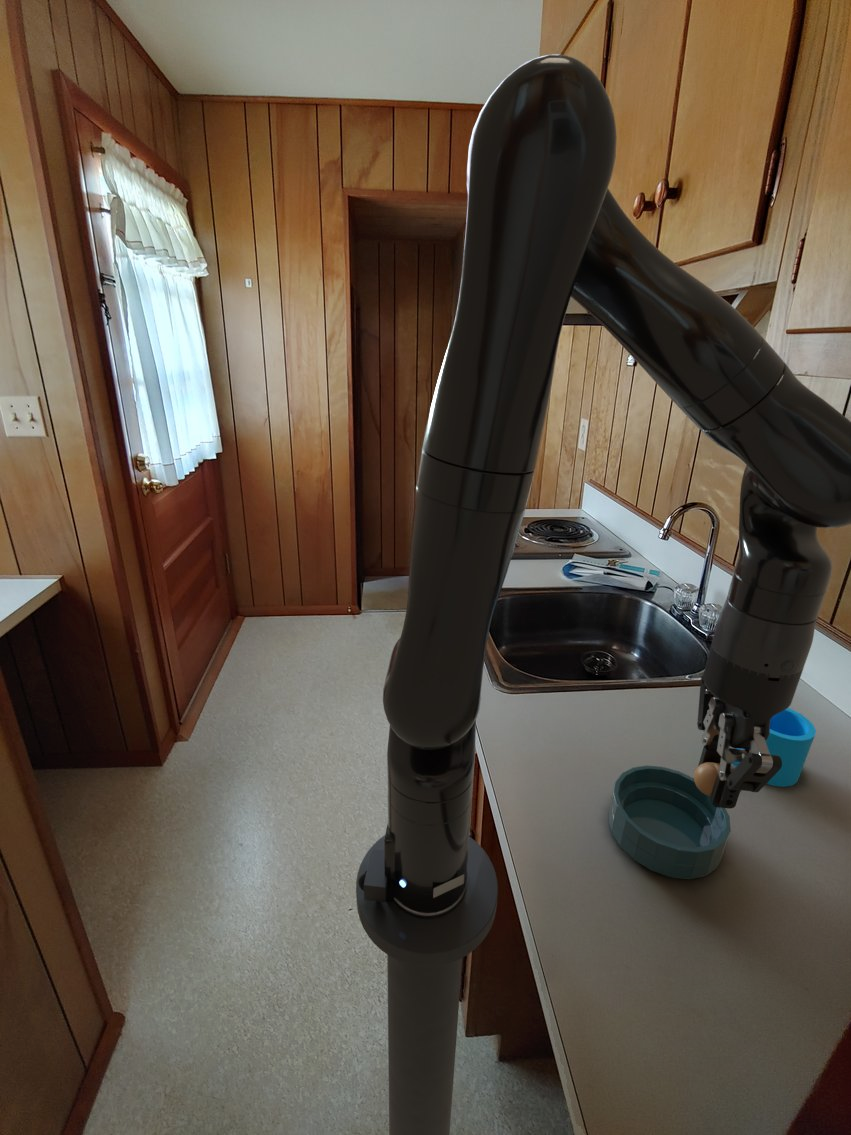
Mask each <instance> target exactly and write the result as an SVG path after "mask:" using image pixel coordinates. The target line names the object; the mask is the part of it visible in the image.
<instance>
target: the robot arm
mask: <svg viewBox="0 0 851 1135" xmlns="http://www.w3.org/2000/svg"><path fill="white" fill-rule="evenodd" d="M617 136H618V135H617V125H616V118H615V113H614V110H613V106H612V102H611V99H610V97H609V95H608V93H607V91H606V88H605V86H604V85H603V82H602V81H601V80H600V78H599V77H598V76H597V74H596V73H595V72H593V70H592V69H591V68H590V67H589V66H588V65H586V64H585V63H583V62H582V61H581V60H579V59H577V58H575V57H572V56H568V55H565V54H546V55H542V56H539V57H536V58H533V59H531V60H528V61H526V62H524V63H523V64H521V65H520V66H519V67H517V68H516V69H515V70H513V71H512V72H510V74H508V75H507V76H506V77H505V78H504V79H503V80H502V81H501V82H500V84H499V85H498V86H497V87H496V88H495V89H494V91H493V92H492V93H491V94H490V96H489V97H488V98H487V101H486V102H485V104H484V105H483V106H482V108H481V110H480V111H479V114H478V117H477V119H476V122H475V124H474V126H473V128H472V132H471V137H470V140H469V145H468V154H467V163H466V164H467V165H466V189H467V209H466V221H465V222H466V224H465V238H464V245H463V246H464V248H463V258H462V268H461V269H462V271H461V279H460V286H459V287H460V288H459V294H458V302H457V307H456V311H455V318H454V322H453V326H452V330H451V333H450V337H449V341H448V344H447V347H446V351H445V354H444V358H443V361H442V365H441V367H440V371H439V374H438V378H437V382H436V385H435V389H434V392H433V397H432V401H431V405H430V409H429V413H428V418H427V422H426V426H425V430H424V435H423V441H422V445H421V446H422V448H421V453H420V459H419V465H418V472H417V477H416V484H415V490H414V501H413V510H412V511H413V513H412V521H411V532H410V548H409V567H408V592H407V604H406V609H405V610H406V611H405V616H404V621H403V626H402V630H401V633H400V637H399V639H398V640H397V641H396V642H395V644H394V645H393V649H392V651H391V653H390V654H391V655H390V658H389V662H388V667H387V671H386V675H385V680H384V684H383V688H382V705H383V711H384V715H385V716H386V720H387V722H388V724H389V728H388V729H389V731H388V741H387V748H386V768H387V769H386V770H387V824H386V829H385V833H384V835H385V838H384V850H376V849H372V850H371V855H370V859H369V864H368V868H367V871H365V873H363V874H362V875H361V876H360V877H359V880H358V883H359V886H360V888H361V889H362V890H363V891H364V900H369V901H378V902H386V901H391V902H394V903H395V904H396V905H397V906H398V907H399V908H400V909H401V910H402V911H404V912H405V913H407V914H409V915H411V916H414V917H417V918H422V919H433V918H438V917H442V916H444V915H447V914H448V913H450V912H451V911H453V910H454V909H455V908H456V907H457V906H458V905H459V904H460V902H461V901H462V899H463V897H464V895H465V892H466V886H467V861H468V847H469V837H470V831H471V830H470V828H471V818H472V802H473V789H474V788H473V787H474V775H475V774H474V773H475V764H476V763H475V761H476V739H477V738H476V737H477V736H476V735H477V718H478V715H479V713H480V709H481V700H482V694H481V693H482V685H483V674H484V667H485V659H486V653H487V652H486V651H487V645H488V639H489V633H490V628H491V624H492V620H493V616H494V613H495V609H496V606H497V603H498V600H499V598H500V595H501V592H502V588H503V586H504V582H505V579H506V577H507V574H508V570H509V568H510V563H511V560H512V557H513V554H514V550H515V547H516V543H517V540H518V537H519V533H520V530H521V527H522V523H523V520H524V518H525V514H526V509H527V505H528V501H529V498H530V494H531V489H532V484H533V481H534V477H535V473H536V468H537V465H538V459H539V454H540V448H541V444H542V439H543V434H544V430H545V429H544V428H545V424H546V420H547V413H548V409H549V404H550V399H551V398H550V397H551V391H552V386H553V381H554V380H553V379H554V374H555V369H556V368H555V366H556V361H557V354H558V348H559V344H560V337H561V333H562V329H563V325H564V321H565V318H566V314H567V311H568V307H569V304H570V301H571V298H572V299H573V300H574V301H575V302H577V304H579V305H580V306H581V307H582V308H583V309H584V310H586V311H587V313H588V314H590V315H591V316H592V317H593V318H594V319H595V320H596V321H597V322H598V323H599V324H601V326H603V328H604V329H605V330H607V331H608V333H609V334H610V335H611V336H612V337H613V338H614V339H615V340H616V341H617V342H618V343H619V344H620V345H621V346H622V347H623V348H624V349H625V351H626V352H627V353H628V354H629V355H630V356H631V357H632V358H633V360H635V361H636V363H637V364H638V365H639V367H641V368H642V370H644V372H645V373H646V374H647V375H648V376H649V377H650V378H651V379H652V380H653V381H654V382H655V384H656V385H657V386H658V387H659V388H660V389H661V391H663V393H665V395H666V396H668V398H669V399H670V400H671V401H672V402H673V403H674V404H675V405H676V406H677V408H679V409H680V410H681V411H682V413H683V414H684V415H685V416H686V417H687V418H688V419H689V420H690V421H691V422H692V423H693V424H694V425H695V426H696V427H697V428H698V429H699V430H700V431H701V432H702V433H703V435H705V436H706V437H707V438H708V439H709V440H711V441H712V442H713V443H715V445H717V446H719V447H720V448H722V449H724V450H725V451H728V452H729V453H731V454H732V455H734V456H736V458H738V459H740V461H742V462H743V463H744V464H745V467H744V470H743V473H742V478H741V484H740V492H739V494H740V495H739V511H738V512H739V514H738V542H739V545H738V546H739V552H738V558H737V560H736V564H735V566H734V570H733V573H732V577H731V580H730V584H729V588H728V592H727V595H726V599H725V601H724V604H723V606H722V607H721V608H722V609H721V610H720V612H719V614H718V618H717V620H716V624H715V625H716V626H715V629H714V633H713V637H712V641H711V644H710V648H709V650H708V651H709V652H708V655H707V659H706V663H705V666H704V670H703V674H702V675H701V677H700V685H699V698H698V699H699V700H698V709H697V710H698V711H697V723H696V725H697V729H698V730H699V731H703V733H702V735H701V744H702V746H703V747H702V751H701V755H700V758H699V761H698V765H697V767H698V766H699V765H701V764H703V763H707V762H712V763H720V767H719V774H717V777H716V780H715V784H714V787H713V790H712V794H711V797H710V800H711V802H712V804H713V806H714V807H719V808H725V809H734V808H735V807H736V805H737V803H738V799H739V796H740V794H741V792H742V791H745V792H752V793H759V792H760V791H761V790H762V789H763V788H764V787H765V786H766V785H768V784H767V783H768V782H769V781H770V779H771V778H772V777H773V776H774V775H775V774H776V773H777V772H778V771H779V770H780V769H781V767H782V760H781V758H780V756H778V755H770V753H769V750H768V747H767V744H766V740H767V739H768V737H769V734H770V721H771V718H772V717H773V716H775V715H776V714H778V713H780V712H782V711H784V710H786V709H787V708H790V706H791V705H792V702H793V700H794V697H795V694H796V691H797V688H798V685H799V682H800V680H801V676H802V674H803V672H804V668H805V665H806V662H807V659H808V658H809V654H810V651H811V648H812V645H813V641H814V636H815V630H816V629H815V628H816V625H817V621H818V620H817V619H818V617H819V614H820V611H821V609H822V605H823V602H824V599H825V597H826V594H827V591H828V588H829V585H830V582H831V578H832V574H833V562H832V559H831V557H830V556H829V554H828V553H827V552H826V550H825V549H824V547H823V546H822V545H821V543H820V541H819V537H818V535H817V530H818V528H821V529H837V528H844V527H847V526H850V525H851V420H850V419H848V418H847V417H846V416H844V415H843V414H842V413H841V412H839V410H837V409H836V408H835V407H834V406H832V405H831V404H829V403H828V402H827V401H826V400H825V399H824V398H822V397H820V396H819V395H818V394H816V393H815V392H814V391H812V390H811V389H809V388H808V387H807V386H806V385H805V384H803V383H802V382H801V381H800V380H799V379H798V377H796V376H795V374H794V373H793V371H792V370H791V369H790V367H789V366H788V365H787V363H786V362H785V361H784V360H783V359H782V358H781V356H780V355H779V354H778V353H777V352H776V351H775V350H774V348H773V347H772V346H771V345H770V344H769V342H767V340H766V339H765V338H764V337H763V336H762V334H761V333H760V332H759V331H758V330H757V329H756V328H755V327H754V326H753V325H752V323H750V322H749V320H747V318H745V317H744V315H743V314H741V313H740V312H739V311H738V310H737V309H736V308H735V307H734V306H733V305H732V304H730V303H729V302H728V301H727V300H726V299H724V298H723V297H722V296H720V295H719V294H718V293H716V292H715V291H714V290H713V289H712V288H710V287H709V286H707V285H706V284H705V283H703V282H701V281H700V280H698V279H697V278H696V277H695V276H694V275H692V274H691V273H689V272H687V271H686V270H685V269H683V268H682V267H680V266H679V265H678V264H676V263H675V262H674V261H673V260H672V259H670V258H669V257H668V256H667V255H666V254H664V253H663V252H662V251H661V250H660V249H658V248H657V246H655V245H654V243H653V242H651V241H650V240H649V239H648V238H647V237H646V236H645V235H644V234H643V233H642V232H641V231H640V229H638V227H637V226H636V225H635V224H634V223H633V221H632V220H631V219H630V218H629V217H628V215H627V214H626V213H625V211H624V210H623V209H622V208H621V206H620V204H619V203H618V201H617V200H616V198H615V197H614V195H613V194H612V192H611V191H610V189H609V186H610V183H611V180H612V176H613V172H614V167H615V162H616V158H617V139H618V138H617ZM737 748H739V749H737ZM743 749H744V750H743ZM732 762H740V763H739V764H738V765H736V767H734V768H735V769H732V768H731V766H732V764H731V763H732ZM740 791H741V792H740Z"/></svg>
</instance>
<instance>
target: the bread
mask: <svg viewBox="0 0 851 1135" xmlns="http://www.w3.org/2000/svg"><path fill="white" fill-rule="evenodd" d="M698 765H699V764H698ZM698 765H697V767H696V768H695V771H694V773H693V778H694V782H695V784H696V786H697V788H698V789H699V790H700V791H701V792H702V793H703V794H705V795H707V796H710V797H711V794H712V790H713V787H714V784H715V780H716V777H717V774H719V767H720V763H712V762H707V763H703V764H701V765H699V766H698ZM731 768H732V769H735V768H736V767H734V766H732V765H731ZM741 792H742V790H741V791H740V793H741Z"/></svg>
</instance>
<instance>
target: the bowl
mask: <svg viewBox="0 0 851 1135" xmlns="http://www.w3.org/2000/svg"><path fill="white" fill-rule="evenodd" d="M607 819H608V825H609V828H610V832H611V834H612V836H613V837H614V839H615V841H616V842H617V844H618V845H619V847H620V848H621V849H622V850H623V851H624V852H625V853H627V855H629V857H631V859H633V860H634V861H635V862H637V863H638V864H640V865H642V867H644V868H647V870H650V871H651V872H654V873H657V874H660V875H662V876H666V877H669V878H672V879H683V880H694V879H697V878H699V879H700V878H703V877H707V876H708V875H709V874H711V873H712V872H714V871H715V870H716V869H718V868H719V865H720V863H721V861H722V858H723V856H724V852H725V850H726V848H727V843H728V840H729V837H730V834H731V830H732V829H731V818H730V815H729V813H728V810H727V808H719V807H714V806H713V804H712V802H711V800H710V796H707V795H705V794H703V793H702V792H701V791H700V790H699V789H698V788H697V786H696V784H695V782H694V777H692V776H689V775H688V774H686V773H684V772H681V771H679V770H676V769H672V768H668V767H665V766H657V765H640V766H634V767H631V768H629V769H627V770H625V771H623V772H622V773H621V774H620V775H619V777H618V778H617V779H616V780H615V782H614V786H613V791H612V796H611V800H610V805H609V811H608V817H607Z"/></svg>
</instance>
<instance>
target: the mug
mask: <svg viewBox="0 0 851 1135" xmlns="http://www.w3.org/2000/svg"><path fill="white" fill-rule="evenodd" d="M816 733H817V730H816V728H815V725H814V724H813V723H812V721H811V720H810V719H808V718H807V717H806V716H804V715H803V714H802V713H800V712H798V711H796V710H794V709H792V708H790V707H788V708H787V709H786V710H784V711H782V712H780V713H778V714H776V715H775V716H773V717H772V718H771V721H770V734H769V737H768V739H767V740H766V744H767V747H768V750H769V753H770V755H778V756H780V758H781V760H782V767H781V769H780V770H779V771H778V772H777V773H776V774H775V775H774V776H773V777H772V778H771V779H770V781H769V782H768V783H767V784H766V785H770V786H772V787H773V786H774V787H780V788H781V787H784V788H787V787H791V786H794V785H796V784H797V783H798V781H799V779H800V776H801V774H802V771H803V769H804V766H805V763H806V760H807V757H808V755H809V753H810V750H811V746H812V744H813V741H814V739H815V736H816ZM736 749H739V748H736ZM743 750H744V749H743ZM739 763H740V762H732V763H731V765H735V766H737V765H738V764H739Z"/></svg>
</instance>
